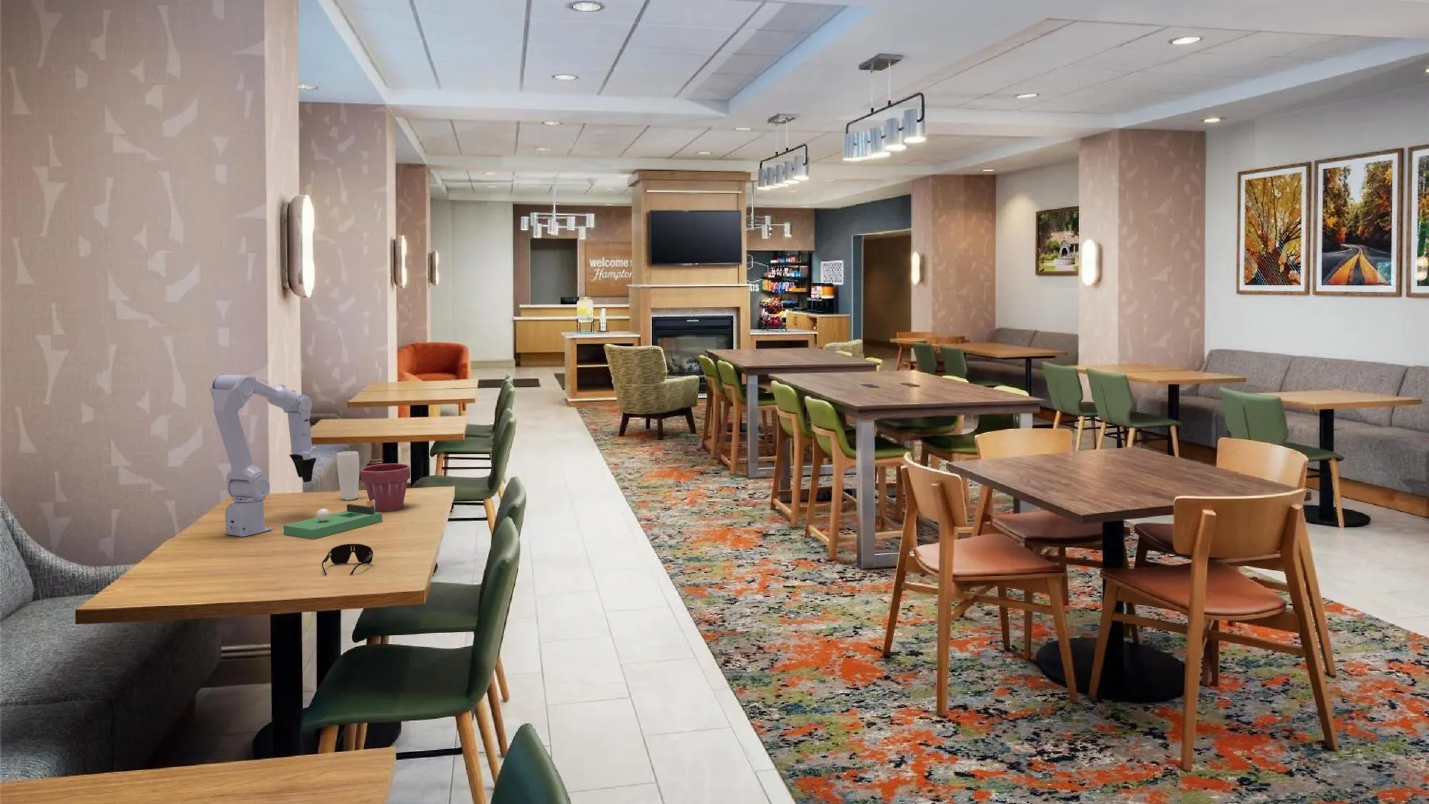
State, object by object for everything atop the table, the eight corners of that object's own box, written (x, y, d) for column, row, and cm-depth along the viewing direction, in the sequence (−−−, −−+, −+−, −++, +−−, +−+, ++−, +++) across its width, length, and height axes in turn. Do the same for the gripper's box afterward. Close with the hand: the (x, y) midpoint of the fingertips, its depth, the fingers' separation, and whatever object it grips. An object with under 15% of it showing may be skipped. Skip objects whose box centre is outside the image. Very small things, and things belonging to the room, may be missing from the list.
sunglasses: (376, 562, 253) (374, 543, 252) (361, 582, 241) (359, 562, 240) (332, 563, 252) (330, 543, 251) (315, 582, 241) (313, 562, 240)
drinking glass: (364, 497, 334) (362, 451, 333) (355, 501, 328) (353, 454, 326) (344, 496, 335) (342, 451, 333) (334, 501, 328) (332, 454, 327)
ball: (322, 523, 284) (322, 510, 284) (313, 522, 286) (313, 509, 286) (333, 520, 288) (332, 508, 287) (324, 519, 289) (323, 507, 289)
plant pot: (361, 514, 308) (359, 472, 306) (363, 505, 321) (362, 464, 320) (411, 511, 311) (409, 469, 310) (411, 502, 325) (410, 462, 323)
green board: (313, 539, 277) (312, 515, 276) (283, 534, 283) (282, 511, 282) (382, 521, 298) (381, 499, 297) (353, 517, 304) (352, 495, 303)
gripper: (319, 436, 300) (324, 481, 302) (309, 428, 312) (314, 472, 315) (293, 439, 296) (298, 485, 299) (284, 431, 309) (289, 476, 311)
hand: (305, 479), depth 306 cm, fingers open, 7 cm apart
